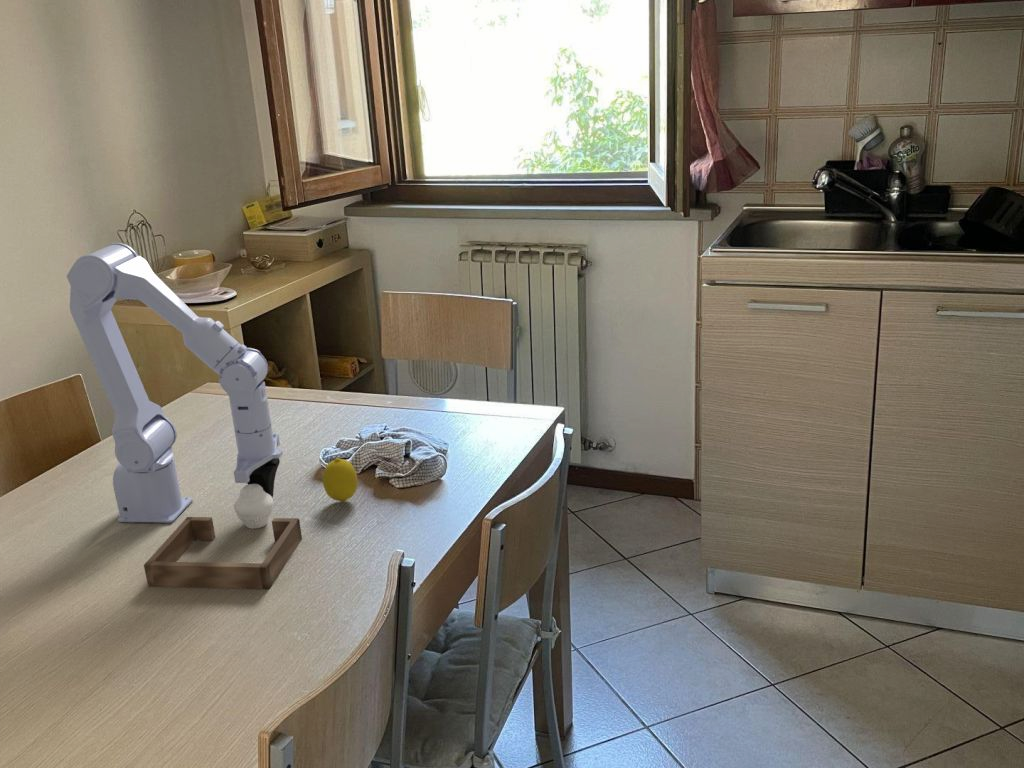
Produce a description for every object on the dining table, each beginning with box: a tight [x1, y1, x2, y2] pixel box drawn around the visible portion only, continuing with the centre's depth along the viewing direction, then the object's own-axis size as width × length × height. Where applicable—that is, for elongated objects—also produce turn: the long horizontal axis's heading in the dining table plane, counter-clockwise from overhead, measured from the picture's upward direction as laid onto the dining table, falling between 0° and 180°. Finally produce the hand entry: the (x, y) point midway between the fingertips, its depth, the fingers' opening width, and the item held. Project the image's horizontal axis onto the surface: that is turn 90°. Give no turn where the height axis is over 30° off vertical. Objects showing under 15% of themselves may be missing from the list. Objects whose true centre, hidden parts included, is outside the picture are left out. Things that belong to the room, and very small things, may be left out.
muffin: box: [233, 484, 274, 530], centre depth 148 cm, size 6×6×7 cm
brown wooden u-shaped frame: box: [143, 516, 303, 590], centre depth 138 cm, size 18×14×4 cm
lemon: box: [322, 457, 358, 504], centre depth 153 cm, size 6×6×8 cm
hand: (265, 503), depth 152 cm, fingers closed
